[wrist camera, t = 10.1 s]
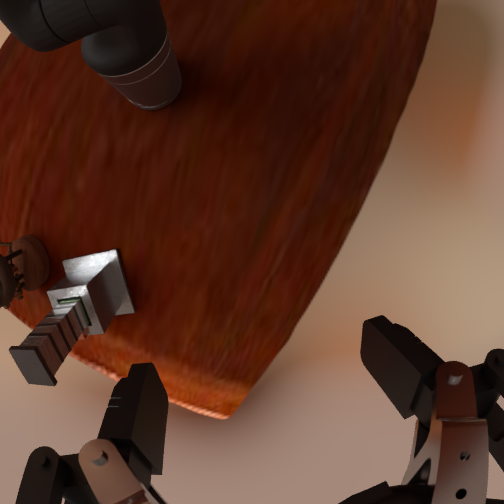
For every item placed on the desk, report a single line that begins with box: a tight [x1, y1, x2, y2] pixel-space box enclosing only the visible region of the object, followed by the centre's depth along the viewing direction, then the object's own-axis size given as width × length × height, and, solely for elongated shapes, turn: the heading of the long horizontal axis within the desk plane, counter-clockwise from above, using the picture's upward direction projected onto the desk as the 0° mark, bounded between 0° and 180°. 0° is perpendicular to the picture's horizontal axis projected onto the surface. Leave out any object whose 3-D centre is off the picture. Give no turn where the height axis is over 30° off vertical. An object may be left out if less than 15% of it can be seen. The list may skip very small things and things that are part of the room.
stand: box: [47, 248, 136, 340], centre depth 38 cm, size 12×12×12 cm
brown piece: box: [0, 236, 50, 309], centre depth 31 cm, size 15×11×20 cm
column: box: [9, 296, 90, 386], centre depth 29 cm, size 5×5×19 cm
